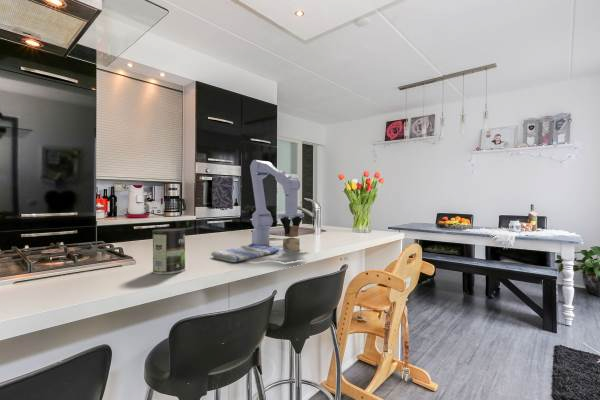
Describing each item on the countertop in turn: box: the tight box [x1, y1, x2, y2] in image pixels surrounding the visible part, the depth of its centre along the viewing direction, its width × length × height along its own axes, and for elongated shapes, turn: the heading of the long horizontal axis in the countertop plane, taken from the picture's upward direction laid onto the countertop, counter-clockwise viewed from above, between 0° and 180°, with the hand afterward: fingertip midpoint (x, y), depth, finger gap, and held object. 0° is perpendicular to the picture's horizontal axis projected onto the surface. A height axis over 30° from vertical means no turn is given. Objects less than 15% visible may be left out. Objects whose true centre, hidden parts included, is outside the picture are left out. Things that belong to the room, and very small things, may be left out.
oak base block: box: [282, 237, 301, 252], centre depth 142 cm, size 6×6×5 cm
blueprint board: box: [271, 244, 303, 254], centre depth 143 cm, size 16×16×1 cm
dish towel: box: [210, 243, 279, 263], centre depth 128 cm, size 17×24×3 cm
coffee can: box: [151, 227, 186, 275], centre depth 103 cm, size 10×10×14 cm
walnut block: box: [284, 224, 299, 238], centre depth 142 cm, size 4×4×5 cm
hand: (291, 233), depth 142 cm, fingers closed on walnut block, 4 cm apart
